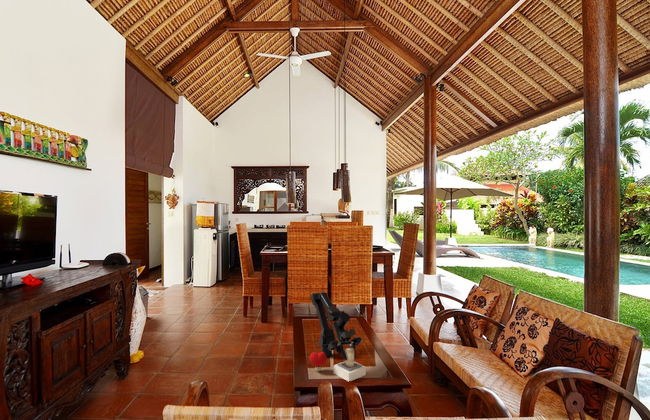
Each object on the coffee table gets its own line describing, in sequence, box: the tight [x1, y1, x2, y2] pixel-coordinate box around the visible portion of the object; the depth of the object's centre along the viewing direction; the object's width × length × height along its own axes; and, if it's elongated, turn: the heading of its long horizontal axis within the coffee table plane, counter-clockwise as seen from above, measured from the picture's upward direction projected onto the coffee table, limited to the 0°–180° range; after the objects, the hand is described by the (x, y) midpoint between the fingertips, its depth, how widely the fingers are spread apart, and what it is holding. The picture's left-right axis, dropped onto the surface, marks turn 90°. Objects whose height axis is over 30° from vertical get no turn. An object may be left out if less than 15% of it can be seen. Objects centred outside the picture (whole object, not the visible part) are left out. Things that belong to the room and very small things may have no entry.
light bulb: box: [309, 351, 328, 373], centre depth 180 cm, size 9×7×10 cm
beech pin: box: [344, 347, 355, 369], centre depth 177 cm, size 5×5×11 cm
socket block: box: [333, 360, 367, 383], centre depth 177 cm, size 12×12×5 cm
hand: (350, 358), depth 176 cm, fingers closed on beech pin, 5 cm apart
